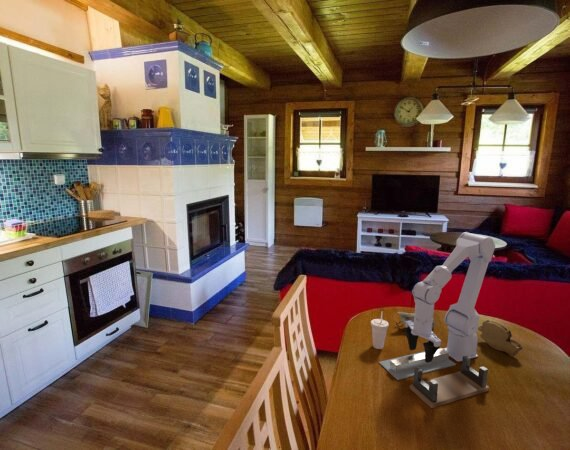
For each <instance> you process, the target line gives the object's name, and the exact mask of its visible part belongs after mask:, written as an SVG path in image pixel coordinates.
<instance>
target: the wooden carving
mask: <svg viewBox="0 0 570 450" xmlns="http://www.w3.org/2000/svg"><path fill="white" fill-rule="evenodd" d="M477 331H479V332H481V334H480V335H479V336H480V338H481V339H482V340H483V341H484V342H485V343H486V344H488V346H489V347H491V348H493V349H495V350H497V351H500V352H505V353H507V354H508V356H511V357H515V356H516V355H518V353H519V352H520V351H522V349H523V346H521V344H520V343H519V342H518V341H516V340H514V339H511V338H512V336H513V335H512V331H511V330H510V329H508V328H506V327H505V326H504V325H503V324H502V323H499V322H496V321H493V320H489V319H487V320H483V322H482V325H480V326H479V327H478V330H477Z"/></svg>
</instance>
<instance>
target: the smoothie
mask: <svg viewBox="0 0 570 450" xmlns="http://www.w3.org/2000/svg"><path fill="white" fill-rule="evenodd" d="M383 312H384V311H381V313H380V318H374V319H372V320H370V326H371V332H372V333H371V336H372V347H373V349H377V350H383V349H384V345H385V341H386V338H387V337H386V336H387V331H388V328H389V325H390V324H389V322H388V321H387V320H385V319H383V317H384V316H383V315H384V314H383Z"/></svg>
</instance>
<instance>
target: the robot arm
mask: <svg viewBox="0 0 570 450" xmlns="http://www.w3.org/2000/svg"><path fill="white" fill-rule="evenodd" d="M455 245H456V246H455V248H454V249H453V250H452V252H451V253H450V254H449V256H448V257H447V258H446V260H445V261H444V262H443V264H442V265H436V266H435V267H434V268H433V270H432V271H431V272H430V273H429V274H428V275H427V276H426V277H425V278H424V279H423V280H422V281H419V282H417V283H416V284H415V285H414V286H413V289H412V291H411V294H412V295H413V298H414V299H413V300H414V301H413V302H414V303H415V305H414V313H415V315H414V322H412V321H406V323H405V325H404V326H405V329H404V330H403V333H404V334H405V336H406V339H407V343H408V348H409V351H415V350H417V347H418V346H417V345H418V339H419V337H420V338H423V339H425V340H426V342H423V343H422V346H423V349H424V351H425V362H427V363H428V362H432V359H433V357H434V355H435V353H436V351H437V350H438V349H441V346H442V340H441V339H440V338H439V337H437V335H436V334H435V333H434V332H433V328H432V324H433V318H434V313H435V312H434V310H435V303H436V302H437V301H439V298H440V295H441V293H442V289H443V288H444V287H445V286H446V285H447V284H448V282H449V281H451V279H452V276H453V275H452V273H453V271H454V270H455V269H457V267H459V266H460V265H461V263H463V261H464V260H466V259H467V258H469V260H470V263H469V266H468V269H467V272H466V275H465V279H464V282H463V284H462V287H461V291H460V294H459V298H458V301H457V302H456V303H453V304H450V305H449V309H448V310H447V311H446V313H445V315H444V323H445V325H447V329H448V334H447V335H448V336H447V344H446V345H447V346H446V347H444V348H443V349H444V350H446V351H447V352H449V357H450V358H452V359H453V360H455V361H456V362H462V359H463V356H468V357H470V358H471V359H474V358H478V357H479V355H478V354H477V351H478V350H477V348H478V339H479V338H478V335H477V332H478V331H479V330H478V327H480V326H479V321H480V318H481V317H480V314H479V313H478V312H477V310H476V309H475V306H476V303H477V300H478V297H479V294H480V290H481V288H482V285H483V281H484V278H485V275H486V272H487V269H488V265H489V264H490V263H491V262H492V258H493V255H494V252H495V249H496V244H495V242H494V240H493V238H492V237H490V236H485V235H484V236H483V235H479V234H475V233H470V232H469V231H465V232H462V233H461V234H460V235H459V237H458V238H457V239H456V242H455Z"/></svg>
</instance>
